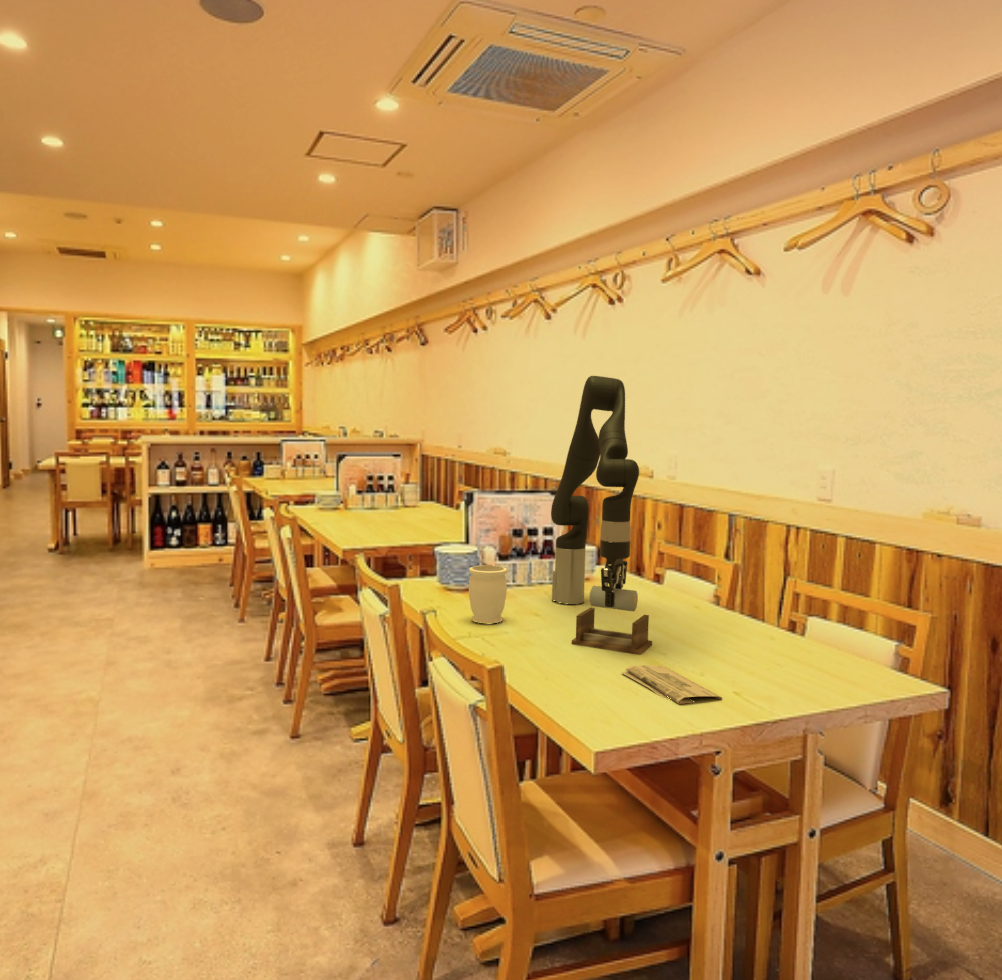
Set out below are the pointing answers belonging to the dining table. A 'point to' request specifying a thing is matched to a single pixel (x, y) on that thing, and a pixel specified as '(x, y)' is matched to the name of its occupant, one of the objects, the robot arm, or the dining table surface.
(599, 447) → the robot arm
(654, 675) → the newspaper
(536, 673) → the dining table surface
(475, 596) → the jar
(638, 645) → the holder
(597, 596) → the cylinder
